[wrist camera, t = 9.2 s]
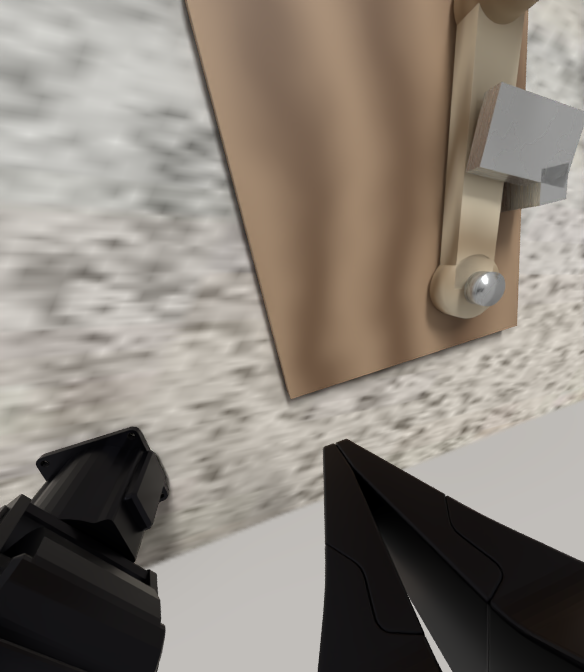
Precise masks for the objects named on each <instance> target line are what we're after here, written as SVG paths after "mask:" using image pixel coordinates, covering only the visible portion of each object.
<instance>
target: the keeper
mask: <svg viewBox="0 0 584 672" xmlns="http://www.w3.org/2000/svg"><path fill="white" fill-rule="evenodd" d="M583 127H584V111H582V110H579V109H576V108H574V107H571V106H568V105H565V104H562V103H560V102H557V101H554V100H551V99H548V98H546V97H543V96H540V95H537V94H534V93H532V92H529V91H526V90H523V89H521V88H518V87H515V86H512V85H509V84H507V83H504V82H500V83H499V84H497V85H496V86H494V87H493V88H491V89H489V90H488V91H486V92H485V93H484V98H483V102H482V106H481V110H480V114H479V118H478V122H477V126H476V130H475V134H474V139H473V143H472V147H471V151H470V155H469V159H468V163H467V167H466V171H465V172H467V173H471V174H475V175H479V176H483V177H487V178H491V179H495V180H499V181H503V182H504V185H503V193H502V201H501V209H500V212H505V211H510V210H516V209H522V208H528V207H534V206H540V205H544V204H548V203H552V202H556V201H560V200H564V199H566V192H567V180H568V173H569V170H570V167H571V164H572V160H573V157H574V154H575V151H576V148H577V145H578V142H579V139H580V136H581V133H582V130H583ZM504 291H505V279H504V277H503V276H502V275H501V274H500V273H498V272H487V271H479V272H476V273H474V274H472V275H471V276H470V277H469V278H468V280H467V281H466V284H465V287H464V296H465V298H466V300H467V301H468V302H469V303H471V304H476V305H481V306H492V305H494V304H496V303H497V302H498V301H499V300H500V299H501V297H502V296H503V294H504Z"/></svg>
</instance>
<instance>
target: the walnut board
mask: <svg viewBox="0 0 584 672" xmlns="http://www.w3.org/2000/svg"><path fill="white" fill-rule="evenodd" d="M185 4H186V8H187V11H188V15H189V19H190V23H191V27H192V30H193V34H194V38H195V42H196V46H197V49H198V53H199V57H200V61H201V65H202V68H203V72H204V76H205V80H206V84H207V87H208V91H209V95H210V99H211V103H212V106H213V110H214V114H215V118H216V122H217V125H218V129H219V133H220V137H221V141H222V144H223V148H224V152H225V156H226V160H227V163H228V167H229V171H230V175H231V179H232V183H233V186H234V190H235V194H236V198H237V202H238V205H239V209H240V213H241V217H242V221H243V224H244V228H245V232H246V236H247V240H248V243H249V247H250V251H251V255H252V259H253V262H254V266H255V270H256V274H257V278H258V281H259V285H260V289H261V293H262V297H263V300H264V304H265V308H266V312H267V316H268V319H269V323H270V327H271V331H272V335H273V338H274V342H275V346H276V350H277V354H278V357H279V361H280V365H281V369H282V373H283V376H284V380H285V384H286V388H287V392H288V394H289V396H290V398H291V399H293V398H296V397H299V396H302V395H305V394H308V393H311V392H314V391H317V390H321V389H324V388H327V387H330V386H333V385H336V384H339V383H342V382H345V381H348V380H351V379H354V378H357V377H360V376H363V375H367V374H370V373H373V372H376V371H379V370H382V369H385V368H388V367H391V366H394V365H397V364H400V363H403V362H406V361H410V360H413V359H416V358H419V357H422V356H425V355H428V354H431V353H434V352H437V351H440V350H443V349H446V348H449V347H452V346H456V345H459V344H462V343H465V342H468V341H471V340H474V339H477V338H480V337H483V336H486V335H489V334H492V333H495V332H498V331H502V330H505V329H508V328H511V327H514V326H517V309H518V281H519V253H520V226H521V209H516V210H510V211H505V212H500V217H499V225H498V233H497V241H496V249H495V257H494V262H495V264H496V265H497V267H498V271H499V273H500V274H501V275H502V276H503V277H504V279H505V291H504V294H503V296H502V297H501V299H500V300H499V301H498V302H497V303H496V304H494V305H492V306H489V307H488V308H487V309H486V310H485V311H484V312H483V313H481V314H480V315H478V316H476V317H473V318H460V317H456V316H452V315H448V314H444V313H442V312H440V311H438V310H437V309H436V308H435V306H434V305H433V303H432V300H431V297H430V284H431V280H432V277H433V275H434V273H435V271H436V269H437V268H438V267H439V265H440V257H441V243H442V229H443V215H444V201H445V186H446V172H447V158H448V144H449V130H450V116H451V101H452V87H453V73H454V59H455V45H456V31H457V24H456V21H455V16H454V0H185ZM527 32H528V10H527V11H525V17H524V25H523V33H522V41H521V49H520V57H519V65H518V73H517V81H516V87H518V88H521V89H523V90H525V87H526V59H527Z"/></svg>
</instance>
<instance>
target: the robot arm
mask: <svg viewBox="0 0 584 672" xmlns="http://www.w3.org/2000/svg"><path fill="white" fill-rule="evenodd" d="M129 433H133V434H135V436H131V435H130V434H129ZM45 461H48V462H49V463H47V462H45ZM36 466H37V468H38V469H39V471H40V472H41V474H42V475H43V477H44V478H45V480H46V483H45V484H44V485H43V486H42V487H41V489H40V490H39V491H38V492H37V494H36V495H35V496H34V497H33V499H32V500H31V499H30V498H28V497H26V496H25V495H23V494H21V495H19V496H18V497H17V498H15V499H14V500H13V501H12V502H10V503H9V504H8V505H4V506H3V507H1V508H0V672H157V670H158V665H159V661H160V658H161V654H162V649H163V644H164V638H165V625H164V624H162V623H161V608H160V607H161V606H160V599H159V597H158V587H157V574H156V573H155V572H153V571H151V570H149V569H148V570H145V569H143V568H141V567H140V566H138V565H136V564H135V563H134V562H135V560H136V557H137V554H138V551H139V547H140V544H141V541H142V537H143V534H144V531H145V530H147V529H150V528H151V526H152V524H153V521H154V518H155V514H156V511H157V507H158V504H159V502H161V501H163V500H165V499H166V498H167V497H168V493H169V489H168V487H167V485H166V483H165V479H166V477H165V475H164V472H163V470H162V468H161V466H160V464H159V462H158V460H157V458H156V456H155V454H154V452H153V451H151V450H150V449H149V447H148V445H147V443H146V441H145V439H144V437H143V435H142V433H141V431H140V429H139V428H137V427H129V428H126V429H122V430H119V431H116V432H113V433H110V434H106V435H103V436H100V437H97V438H94V439H90V440H87V441H84V442H81V443H78V444H74V445H71V446H68V447H65V448H62V449H59V450H55V451H52V452H49V453H46V454H43V455H42V456H41V457H40V458H39V459H38V460H37V461H36ZM323 475H324V515H325V516H324V518H325V545H326V546H325V595H324V596H325V597H324V612H323V622H322V632H321V643H320V653H319V663H318V672H442V670H441V668H440V666H439V664H438V662H437V660H436V658H435V656H434V654H433V652H432V650H431V648H430V645H429V643H428V641H427V639H426V637H425V634H424V631H423V629H422V627H421V624H420V622H419V620H418V618H417V615H416V613H415V611H414V608H413V606H412V604H411V602H410V600H411V601H412V603H413V605H414V606H415V608H416V610H417V612H418V613H419V615H420V617H421V618H422V620H423V622H424V623H425V625H426V627H427V629H428V630H429V632H430V634H431V636H432V637H433V639H434V641H435V642H436V644H437V646H438V648H439V649H440V651H441V653H442V655H443V656H444V658H445V660H446V661H447V663H448V665H449V667H450V668H451V670H452V672H584V562H582V561H580V560H577V559H576V558H573V557H571V556H569V555H567V554H565V553H562V552H560V551H558V550H556V549H554V548H552V547H549V546H547V545H545V544H543V543H541V542H539V541H537V540H535V539H532V538H530V537H528V536H525V535H524V534H522V533H519V532H517V531H515V530H513V529H511V528H509V527H507V526H505V525H503V524H500V523H498V522H496V521H494V520H492V519H490V518H488V517H486V516H484V515H482V514H480V513H478V512H476V511H475V510H473V509H471V508H469V507H467V506H465V505H463V504H462V503H460V502H458V501H456V500H455V499H453V498H451V497H449V496H445V494H444V493H442V492H440V491H438V490H437V489H435V488H433V487H431V486H429V485H428V484H426V483H424V482H422V481H420V480H419V479H417V478H415V477H414V476H412V475H410V474H408V473H407V472H405V471H403V470H401V469H400V468H398V467H396V466H394V465H392V464H391V463H389V462H387V461H385V460H384V459H382V458H380V457H378V456H377V455H375V454H373V453H371V452H369V451H368V450H366V449H364V448H362V447H361V446H359V445H357V444H355V443H354V442H352V441H350V440H348V439H344V440H342V441H339V442H336V444H330V445H328V446H325V447H323ZM161 493H163V494H161ZM407 594H408V595H407ZM408 596H409V597H408ZM409 598H410V599H409Z"/></svg>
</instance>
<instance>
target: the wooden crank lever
mask: <svg viewBox="0 0 584 672" xmlns="http://www.w3.org/2000/svg"><path fill="white" fill-rule="evenodd" d="M537 1H539V0H454V16H455V21H456V24H457V31H456V45H455V59H454V73H453V87H452V101H451V116H450V130H449V144H448V158H447V172H446V186H445V201H444V215H443V229H442V243H441V257H440V265H439V267H438V268H437V269H436V271H435V273H434V275H433V277H432V280H431V284H430V297H431V300H432V303H433V305H434V306H435V308H436V309H437V310H438V311H440V312H442V313H444V314H448V315H452V316H456V317H460V318H473V317H476V316H478V315H480V314H481V313H483V312H484V311H485V310H486V309H487V308H488V307H489V306H481V305H476V304H471V303H469V302H468V301H467V300H466V298H465V296H464V287H465V284H466V281H467V280H468V278H469V277H470V276H471V275H472V274H474V273H476V272H479V271H487V272H498V273H499V271H498V267H497V265H496V264H495V262H494V257H495V249H496V241H497V233H498V225H499V217H500V209H501V201H502V193H503V185H504V182H503V181H499V180H495V179H491V178H487V177H483V176H479V175H475V174H471V173H467V172H465V171H466V167H467V163H468V159H469V155H470V151H471V147H472V143H473V139H474V134H475V130H476V126H477V122H478V118H479V114H480V110H481V106H482V102H483V98H484V93H485V92H486V91H488V90H489V89H491V88H493V87H494V86H496V85H497V84H499V83H500V82H504V83H507V84H509V85H512V86H515V87H516V81H517V73H518V65H519V57H520V49H521V41H522V33H523V25H524V17H525V11H527V10H528V9H529V8H530V7H531V6H533V5H534V4H535V3H536V2H537Z"/></svg>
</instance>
